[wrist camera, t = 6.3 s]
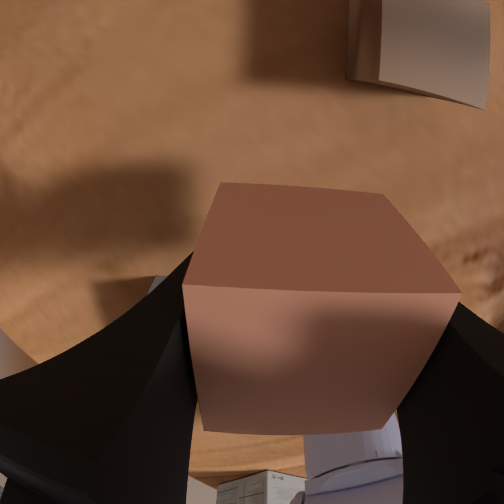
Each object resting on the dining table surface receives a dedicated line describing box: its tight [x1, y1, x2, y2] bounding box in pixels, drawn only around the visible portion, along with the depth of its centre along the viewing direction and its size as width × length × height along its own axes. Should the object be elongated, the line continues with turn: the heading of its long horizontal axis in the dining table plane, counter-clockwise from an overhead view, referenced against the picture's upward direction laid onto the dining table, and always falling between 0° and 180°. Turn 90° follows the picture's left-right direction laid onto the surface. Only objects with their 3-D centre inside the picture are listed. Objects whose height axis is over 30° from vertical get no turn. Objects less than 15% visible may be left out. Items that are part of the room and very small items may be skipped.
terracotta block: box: [182, 183, 462, 435], centre depth 8 cm, size 5×5×5 cm
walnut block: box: [345, 0, 490, 110], centre depth 10 cm, size 5×5×5 cm
